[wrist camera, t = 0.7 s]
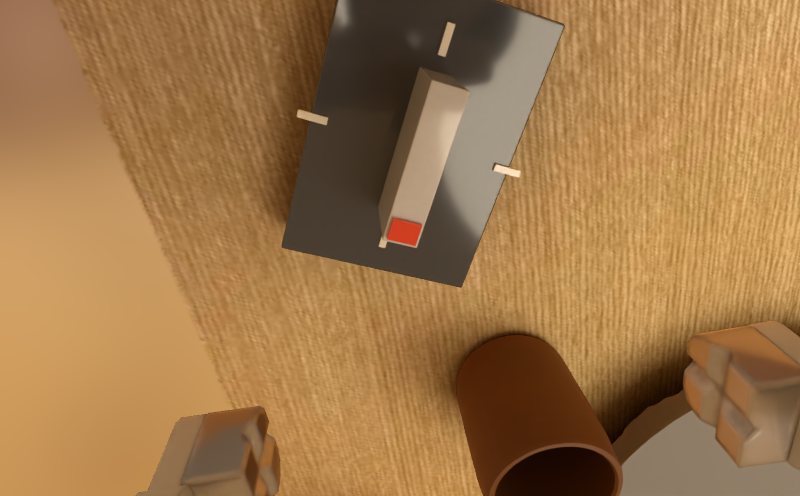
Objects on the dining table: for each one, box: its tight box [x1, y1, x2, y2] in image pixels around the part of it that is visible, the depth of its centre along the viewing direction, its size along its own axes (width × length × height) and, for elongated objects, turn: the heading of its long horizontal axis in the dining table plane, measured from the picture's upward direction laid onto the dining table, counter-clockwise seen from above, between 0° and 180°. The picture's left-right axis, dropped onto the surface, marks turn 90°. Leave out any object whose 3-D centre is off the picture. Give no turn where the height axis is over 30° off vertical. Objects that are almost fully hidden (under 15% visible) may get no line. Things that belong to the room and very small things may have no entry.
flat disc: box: [612, 389, 800, 496], centre depth 40 cm, size 28×28×4 cm
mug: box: [456, 335, 623, 496], centre depth 33 cm, size 12×8×9 cm, turn 23°
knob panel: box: [282, 0, 565, 287], centre depth 27 cm, size 14×11×3 cm
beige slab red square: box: [378, 67, 470, 248], centre depth 23 cm, size 7×2×4 cm, turn 163°
